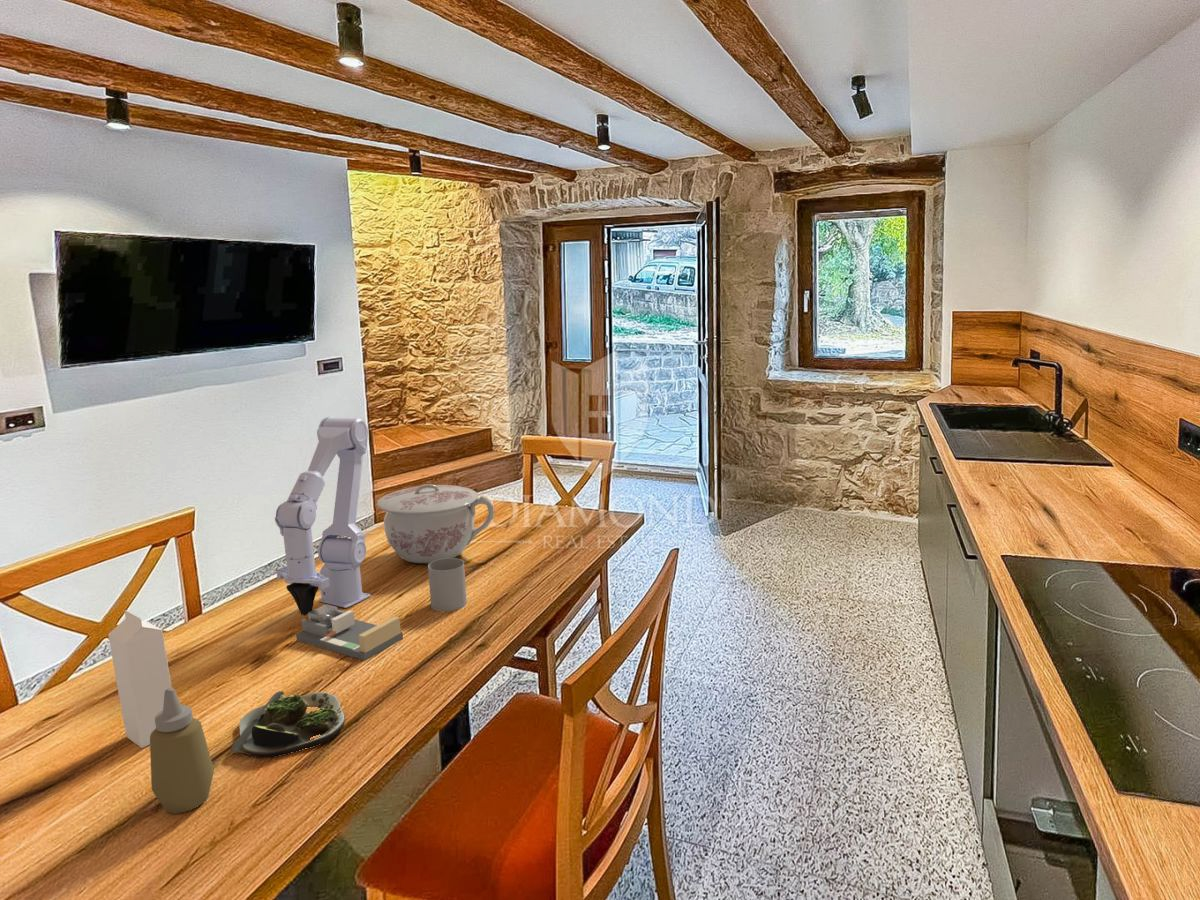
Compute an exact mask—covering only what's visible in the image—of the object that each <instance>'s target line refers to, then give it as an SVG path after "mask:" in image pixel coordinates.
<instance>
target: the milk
mask: <svg viewBox="0 0 1200 900" xmlns="http://www.w3.org/2000/svg"><path fill="white" fill-rule="evenodd" d="M124 616H125V618H124V619H123V620H122V621H121V622H119V623H118V625H117V626H115V627H114V628H113V629H112V630H111V631H110V632H109V633H108V641H109V645H110V653H111V657H112V663H113V669H114V675H115V681H116V685H117V686H116V687H117V692H118V697H119V704H120V709H121V715H122V721H123V725H124V727H123V728H124V732H125V737H126V738H128V739H129V740H130V741H131V742H133V743H134V744H135V745H137V746H138V747H139V748H141V749H144V748H146V747H147V746H150V735H151V733H152V732H153V731H154V730H155V729H156V725H155V716H156V715H157V714H158V713H159V712H161V711H162V710H163V704H164V694H165V690H167V689H169V688H173V687H172V681H171V676H170V669H169V663H168V662H169V661H168V656H167V650H166V643H165V638H164V632H163V629H161V628H160V627H158V626H155V625H154V624H152V623H150V622H148V621H146V620H142V618H141V617H139V616H138V615H136V614H134V613H132V612H130V611H129V610H124Z"/></svg>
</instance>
